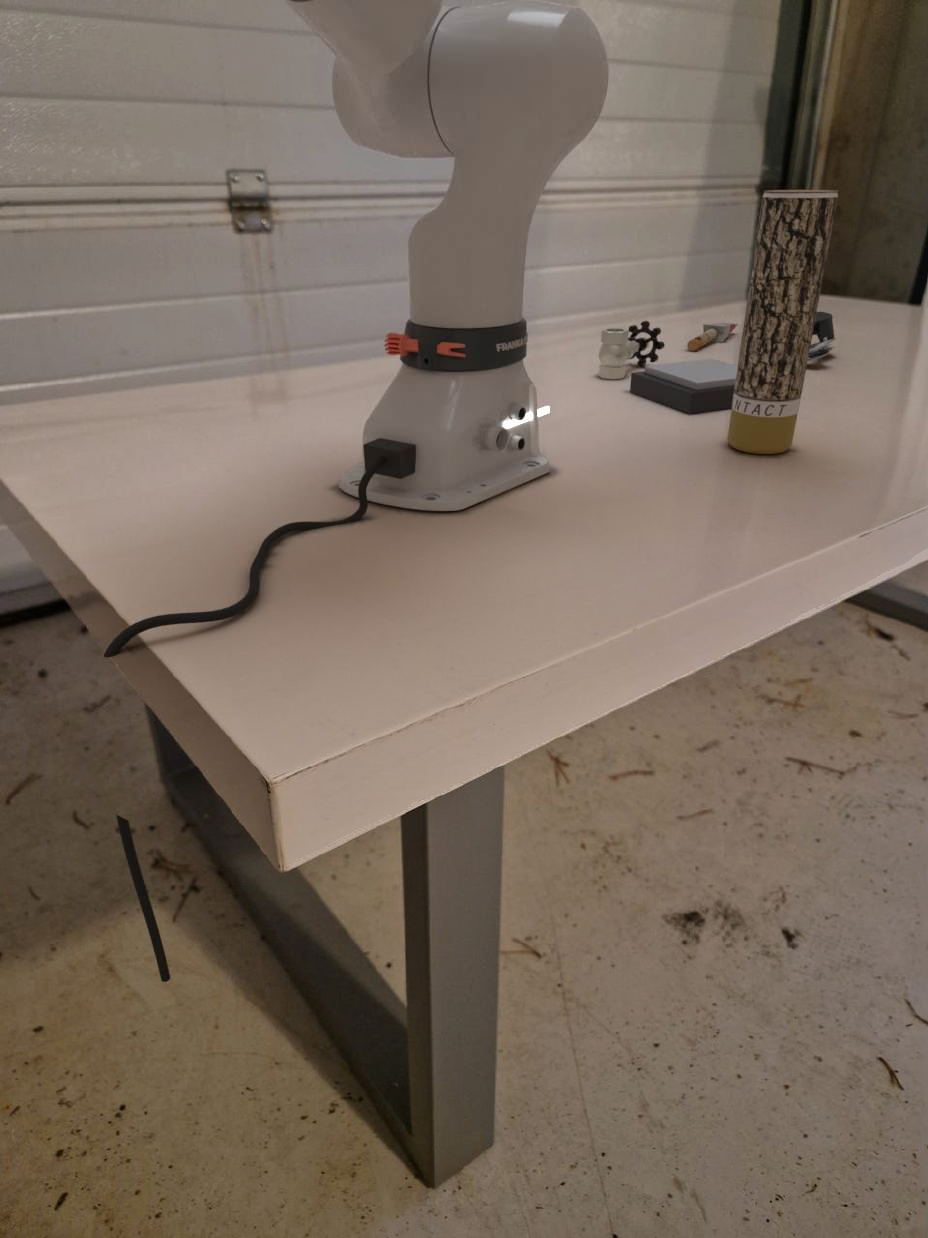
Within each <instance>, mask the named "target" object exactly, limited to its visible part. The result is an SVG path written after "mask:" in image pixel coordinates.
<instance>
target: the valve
mask: <svg viewBox="0 0 928 1238" xmlns="http://www.w3.org/2000/svg"><path fill="white" fill-rule="evenodd" d="M650 325H651V322H650V321H649V320H644V321H641V322H640V326H641V328H638V325H636V324H633V325H630V326H629V327H628V329H626V328H621V327H606V328H603V329H602V330H601V334H600V335H601V337H600V342H601V345H600V347H599V351H598V360H599V363H600V364H599V366H598V367H599V368H598V376H599V378H601V379H603V380H604V379H605V380H621V379H624V377H626V371H627V369H626V368H627V366H626V362H627V361H628V360H634V359H635V358H636V359H637V360H638V361H637V362H636V364H637V366H638V367H643V366H646V364H647V359H649V362H650V363H655V362H657V361H658V360H659V355H658V354H657V353H656V352H657V350H658V351H661V350H663V349H664V348H665V345H666V344H665V343H664V341H662V340H661V341H659V340H658V336H660V335H661V334H662V329H661V328H660V327H659V326H658V327H654V328H652V329H650ZM629 333H631V334H630V335H629ZM641 333H644V334H647V335H648V336H649V337H648V338H646V337H638V336H639V334H641ZM637 337H638V338H637ZM651 342H652V348H651V350H650V351H649V352H648V353H646V354H643V353H641V352H644V351H646V350H647V349H648V348H649V347H650V343H651Z"/></svg>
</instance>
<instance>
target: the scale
mask: <svg viewBox="0 0 928 1238" xmlns="http://www.w3.org/2000/svg"><path fill="white" fill-rule="evenodd" d="M737 368H738V364H733V363H730V362H726V361H722V360H718V359H716V358H711V357H710V358H702V359H694V360H687V361H676V362H668V363H660V364H652V365H651V364H650V365H644V371H642V370H641V371H635V372H631V374H630V386H629V392H630V393H632V394H634V395H636V396H640V397H643V398H645V399H647V400H651V401H652V402H653V401H654V402H656V403H659V404H661V405H664V406H667V407H669V408H672V409H674V410H677V411H680V412H682V413H685V414H688V415H693V414H700V413H708V412H714V411H720V410H728V409H732V402H733V395H734V388H735V381H736V374H737Z"/></svg>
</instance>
